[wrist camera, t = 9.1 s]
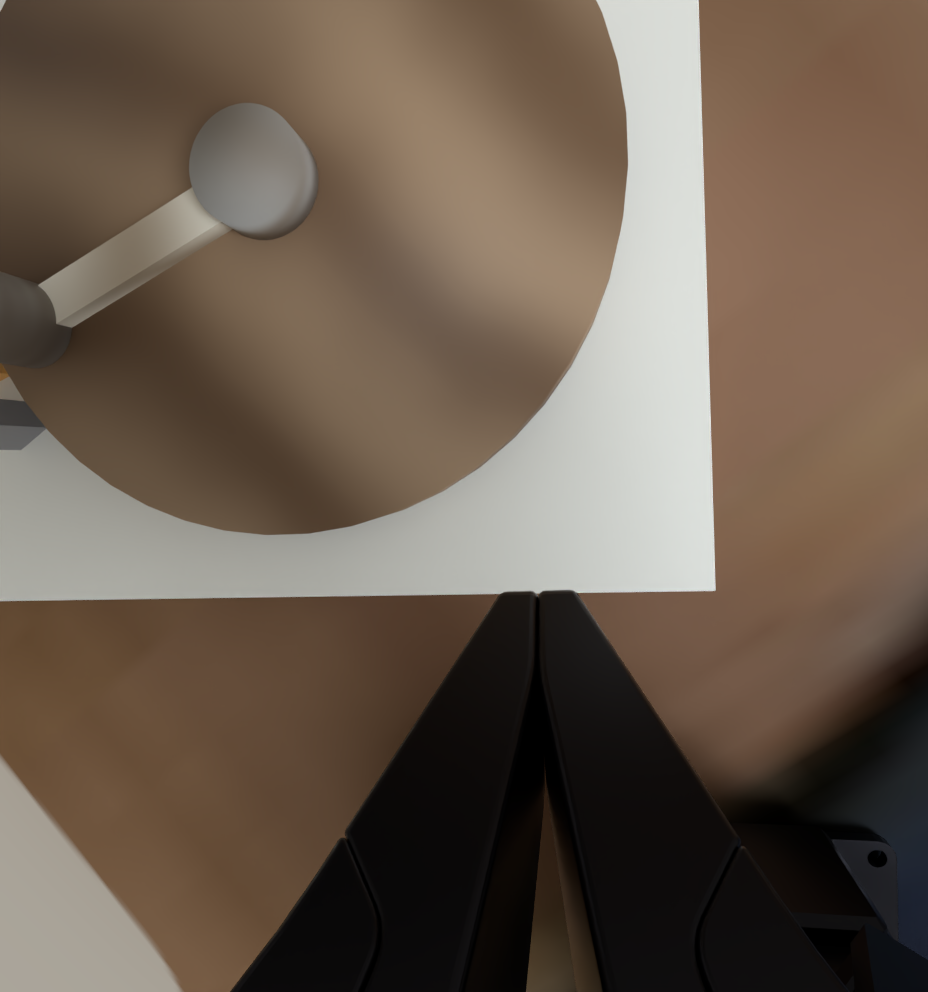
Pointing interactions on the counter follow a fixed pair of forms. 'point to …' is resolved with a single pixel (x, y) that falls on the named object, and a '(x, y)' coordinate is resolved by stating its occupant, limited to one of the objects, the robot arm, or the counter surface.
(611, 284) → the base
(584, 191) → the dial
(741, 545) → the counter surface
